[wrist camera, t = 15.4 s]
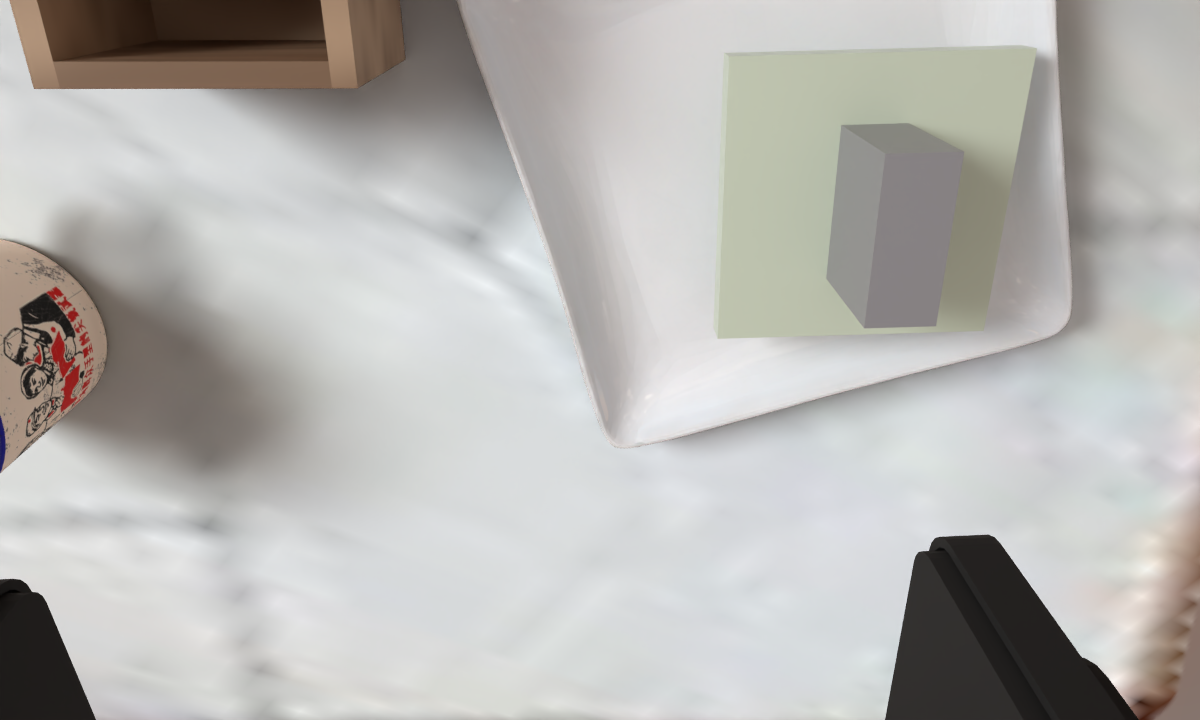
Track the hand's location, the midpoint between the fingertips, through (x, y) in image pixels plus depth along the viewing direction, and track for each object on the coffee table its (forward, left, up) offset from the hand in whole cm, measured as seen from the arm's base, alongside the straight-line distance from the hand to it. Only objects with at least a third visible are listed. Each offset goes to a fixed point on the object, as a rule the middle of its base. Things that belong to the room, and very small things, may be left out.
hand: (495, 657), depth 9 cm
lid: (+2, +12, -26) cm, 29 cm away
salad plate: (+1, +9, -29) cm, 31 cm away
